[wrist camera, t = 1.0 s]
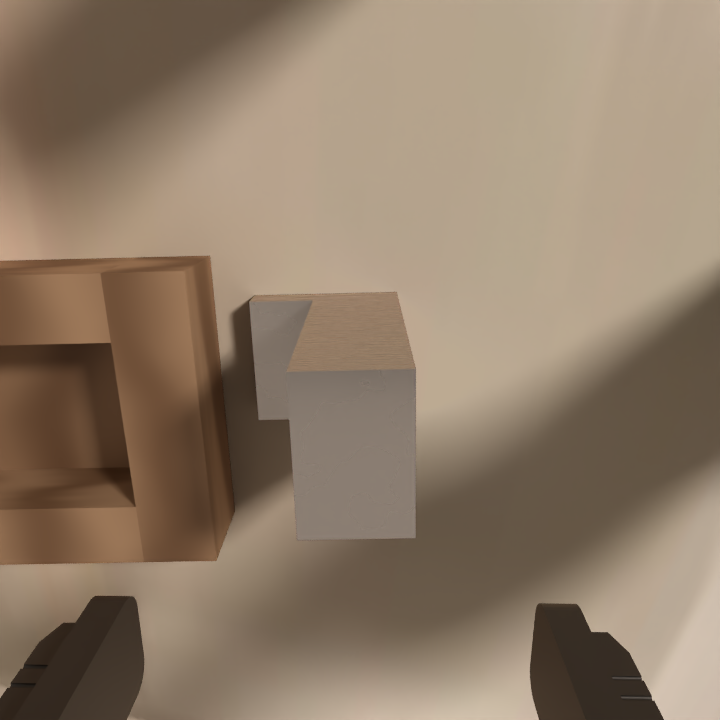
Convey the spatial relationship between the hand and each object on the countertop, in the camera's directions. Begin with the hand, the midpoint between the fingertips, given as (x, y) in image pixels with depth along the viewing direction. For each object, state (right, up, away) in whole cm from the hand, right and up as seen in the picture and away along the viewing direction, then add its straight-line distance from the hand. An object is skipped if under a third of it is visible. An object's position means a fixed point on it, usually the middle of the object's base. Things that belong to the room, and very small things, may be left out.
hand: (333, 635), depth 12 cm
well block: (-15, +4, +20) cm, 25 cm away
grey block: (-1, +6, +19) cm, 20 cm away
